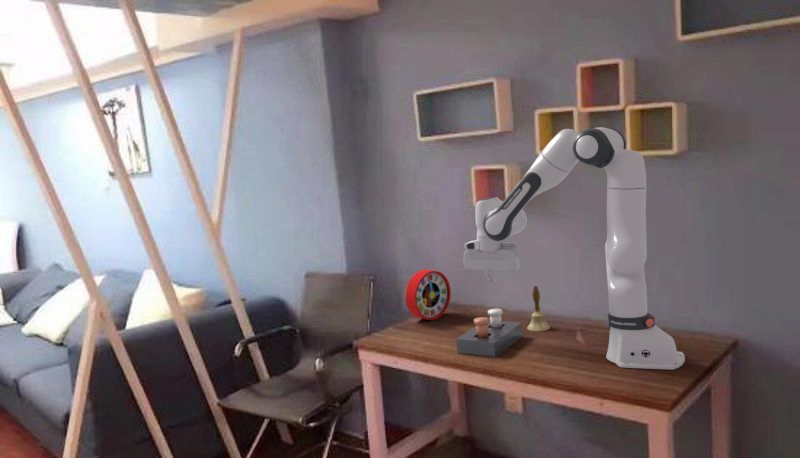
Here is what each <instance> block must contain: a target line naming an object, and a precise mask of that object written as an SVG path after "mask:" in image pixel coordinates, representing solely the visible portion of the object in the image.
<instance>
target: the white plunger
mask: <svg viewBox="0 0 800 458" xmlns="http://www.w3.org/2000/svg"><path fill="white" fill-rule="evenodd" d="M503 313H504V311H503V309H501V308H491V309H490V308H489V309H488V310H487V315H489V320H490V323H491V328H501V327H502V321H503V320H502V315H503Z"/></svg>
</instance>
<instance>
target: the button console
mask: <svg viewBox="0 0 800 458" xmlns="http://www.w3.org/2000/svg"><path fill="white" fill-rule="evenodd" d="M488 333H489V336H488V337H485V338H479V337H477V332H476V326H474V327H472V328H471V329H470V330H468V331H466V332H465V333H463V334H462V335H460V336H459V337H457V338H456V339H455V341H456V342H455V343H456V350H457V351H456V353H457V354H462V355H463V354H464V355H472V356H480V357H481V356H482V357H489V358H496V357H497V356H499V355H500V354H501V353H503V352H504V351H506V349H508V348H510V346H512V345H514V343H516V342H517V341H518V340H520V339H522V337H523V327H522V322H518V321H506V320H502V327H501V328H491V323H490V319H489V323H488Z"/></svg>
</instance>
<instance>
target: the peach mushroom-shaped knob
mask: <svg viewBox="0 0 800 458" xmlns="http://www.w3.org/2000/svg"><path fill="white" fill-rule="evenodd" d="M489 320H490V317H486V316H485V317H483V316H481V317H476V318H473V324H475V327H476V332H477V337H479V338H485V337H488V336H489V333H488V323H489Z"/></svg>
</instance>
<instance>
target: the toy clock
mask: <svg viewBox="0 0 800 458" xmlns="http://www.w3.org/2000/svg"><path fill="white" fill-rule="evenodd" d="M451 292H452V290H451V285H450V282H449V280H448V278H447V277H446V275H445V274H444V273H442V272H441V271H437V270H430V269H420V270H418V271H417V272H415V273H414V274H413V275H412V276H411V277H410V279H409V280H408V283H407V285H406V288H405V293H404V294H405V297H404V298H405V305H406V307H407V309H408V310H407V311H409V313H410V314H411V315H412V316H413V317H415V318H419V319H422V320H423V319H424V320H428V321H433V320H434V319H435V320H437V319H439V318H440V317H442V316H443V315H444V314H445V312H446V311H447V309H448V307H449V305H450V303H451V302H450V301H451V297H452V295H451V294H452V293H451Z"/></svg>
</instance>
